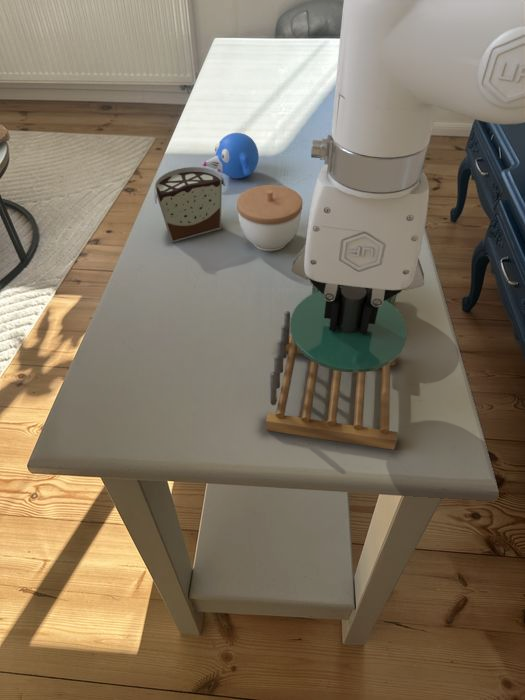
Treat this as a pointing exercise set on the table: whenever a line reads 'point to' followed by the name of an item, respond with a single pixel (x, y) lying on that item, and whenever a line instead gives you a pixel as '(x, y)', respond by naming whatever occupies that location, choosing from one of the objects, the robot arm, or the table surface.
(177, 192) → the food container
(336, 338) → the lid
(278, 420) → the dish rack
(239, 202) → the trinket box
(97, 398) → the table surface
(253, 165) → the blue mole toy
